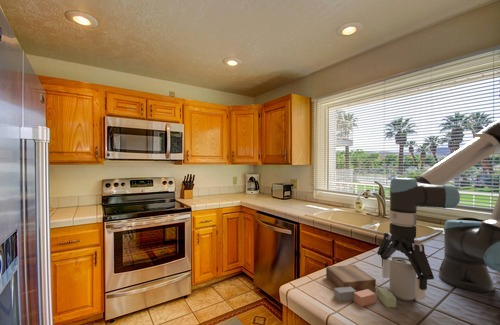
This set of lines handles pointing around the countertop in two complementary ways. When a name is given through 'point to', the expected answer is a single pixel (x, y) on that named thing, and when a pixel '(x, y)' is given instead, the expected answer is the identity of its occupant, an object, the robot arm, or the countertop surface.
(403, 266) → the can
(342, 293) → the brick slate
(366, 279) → the walnut block
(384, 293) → the brick sage
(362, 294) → the brick terracotta
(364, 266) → the countertop surface
